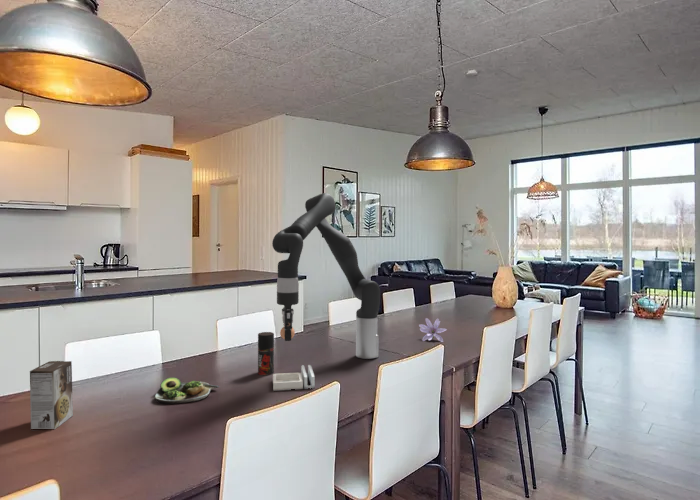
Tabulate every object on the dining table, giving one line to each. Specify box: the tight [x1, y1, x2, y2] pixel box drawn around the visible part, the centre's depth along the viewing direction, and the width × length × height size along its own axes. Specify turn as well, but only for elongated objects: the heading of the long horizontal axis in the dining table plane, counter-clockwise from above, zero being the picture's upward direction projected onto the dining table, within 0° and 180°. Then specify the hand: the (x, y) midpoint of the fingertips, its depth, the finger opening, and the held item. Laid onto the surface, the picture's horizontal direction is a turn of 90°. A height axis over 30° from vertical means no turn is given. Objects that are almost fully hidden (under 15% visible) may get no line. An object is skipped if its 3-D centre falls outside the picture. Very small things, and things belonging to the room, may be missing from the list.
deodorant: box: [257, 331, 275, 376], centre depth 165 cm, size 6×6×15 cm
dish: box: [272, 371, 304, 392], centre depth 152 cm, size 10×10×3 cm
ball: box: [279, 325, 296, 340], centre depth 151 cm, size 5×5×5 cm
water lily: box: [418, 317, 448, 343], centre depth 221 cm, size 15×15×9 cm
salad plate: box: [153, 377, 220, 405], centre depth 143 cm, size 19×18×5 cm
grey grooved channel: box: [300, 364, 316, 390], centre depth 155 cm, size 4×14×4 cm, turn 11°
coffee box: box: [29, 360, 74, 430], centre depth 120 cm, size 9×6×16 cm
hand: (287, 338), depth 152 cm, fingers closed on ball, 5 cm apart
